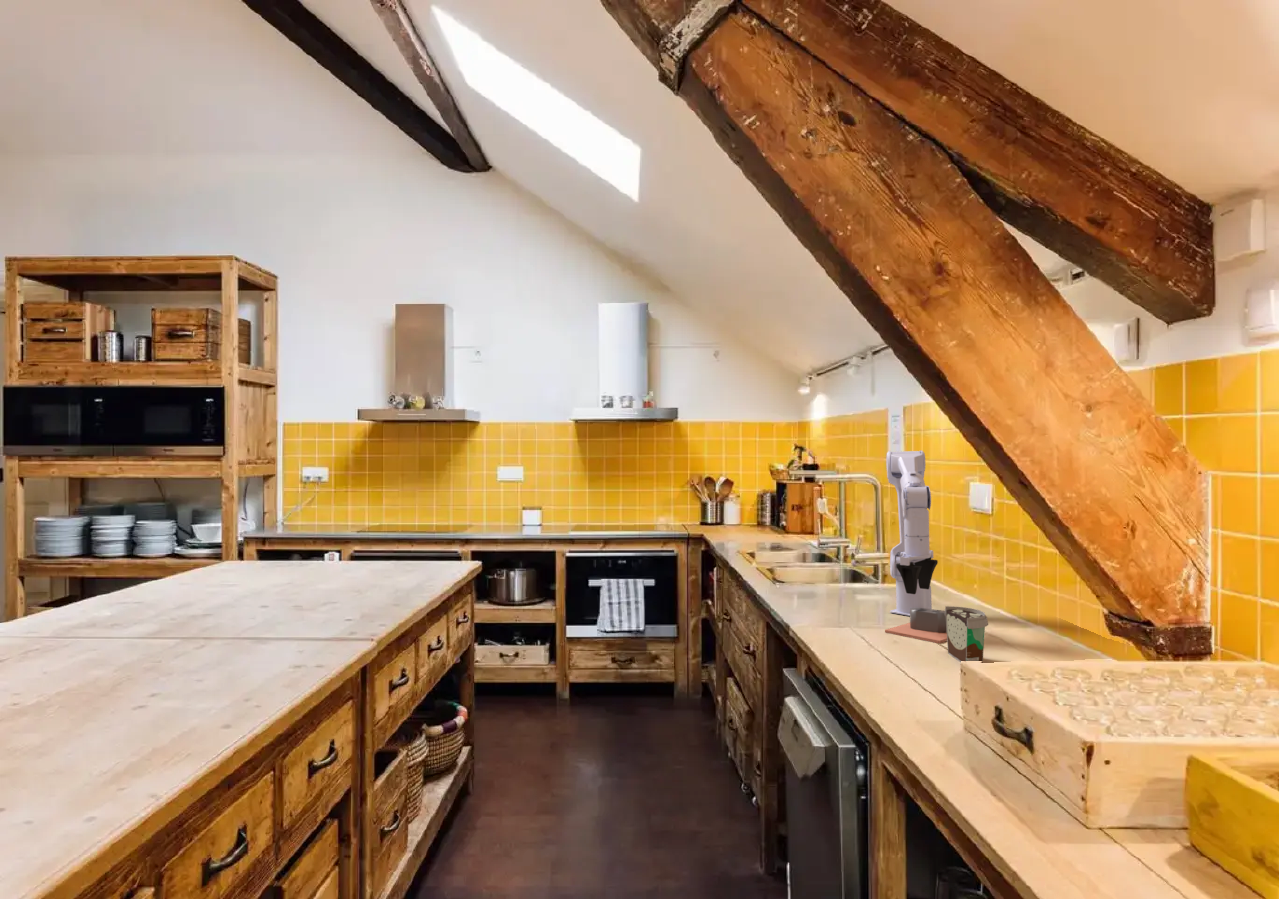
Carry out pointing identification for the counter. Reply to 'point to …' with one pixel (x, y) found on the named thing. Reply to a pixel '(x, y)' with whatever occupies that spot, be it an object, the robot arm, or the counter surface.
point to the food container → (965, 633)
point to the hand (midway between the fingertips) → (917, 591)
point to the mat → (917, 633)
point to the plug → (928, 620)
